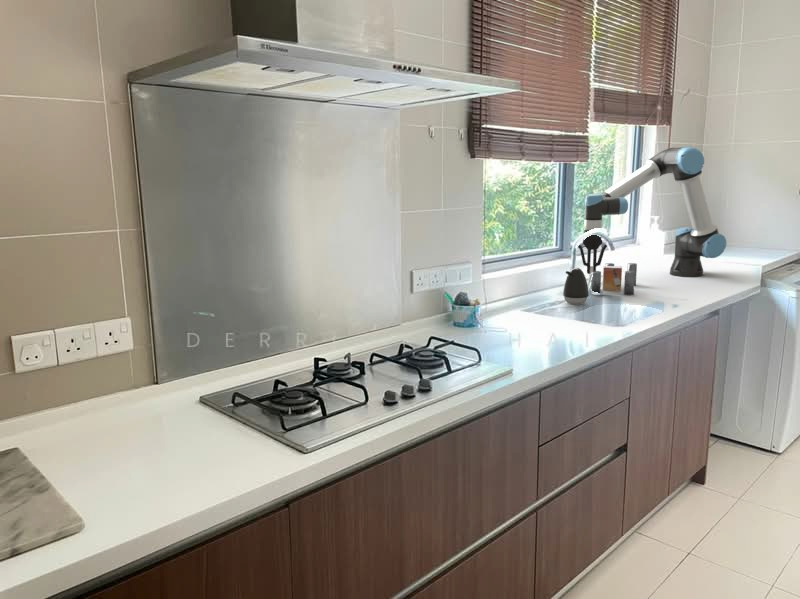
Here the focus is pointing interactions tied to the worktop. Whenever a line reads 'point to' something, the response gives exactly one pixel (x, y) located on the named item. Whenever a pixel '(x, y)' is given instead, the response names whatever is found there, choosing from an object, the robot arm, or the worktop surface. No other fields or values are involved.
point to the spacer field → (629, 279)
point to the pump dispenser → (575, 287)
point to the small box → (612, 278)
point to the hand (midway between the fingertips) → (591, 280)
